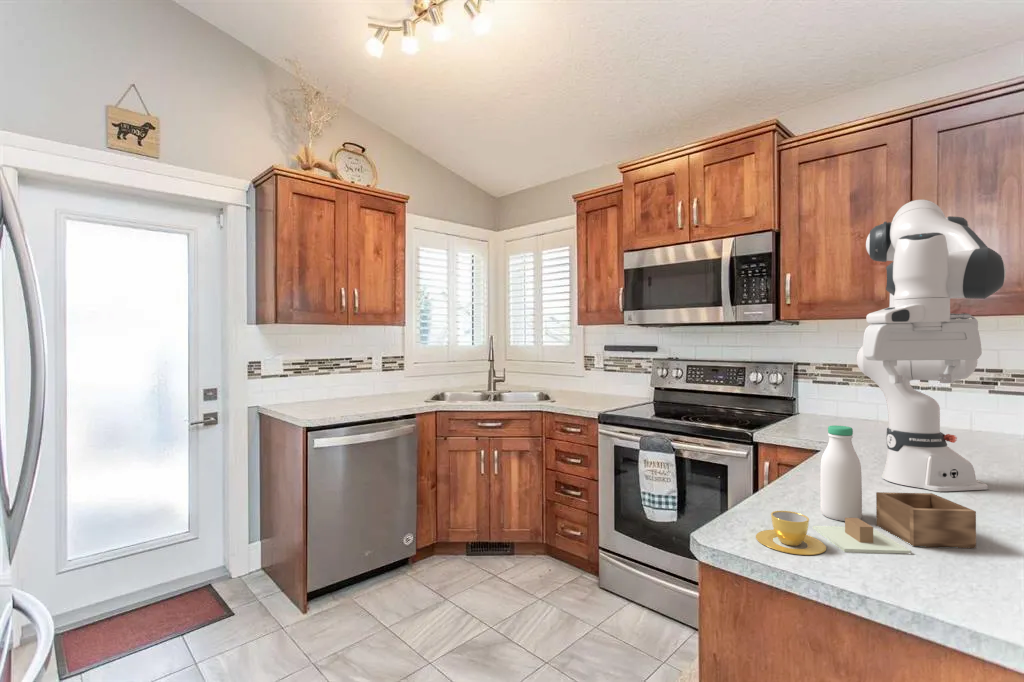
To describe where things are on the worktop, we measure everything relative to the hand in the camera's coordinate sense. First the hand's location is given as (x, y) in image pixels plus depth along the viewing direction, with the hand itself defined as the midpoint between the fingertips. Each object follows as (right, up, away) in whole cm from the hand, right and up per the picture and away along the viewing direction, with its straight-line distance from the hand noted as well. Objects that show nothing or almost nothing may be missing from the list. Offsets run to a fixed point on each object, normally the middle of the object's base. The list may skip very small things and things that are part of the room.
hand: (921, 383), depth 100 cm
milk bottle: (-9, -31, +11) cm, 34 cm away
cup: (-28, -31, -3) cm, 42 cm away
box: (0, -31, 0) cm, 31 cm away
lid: (-14, -31, -2) cm, 34 cm away
